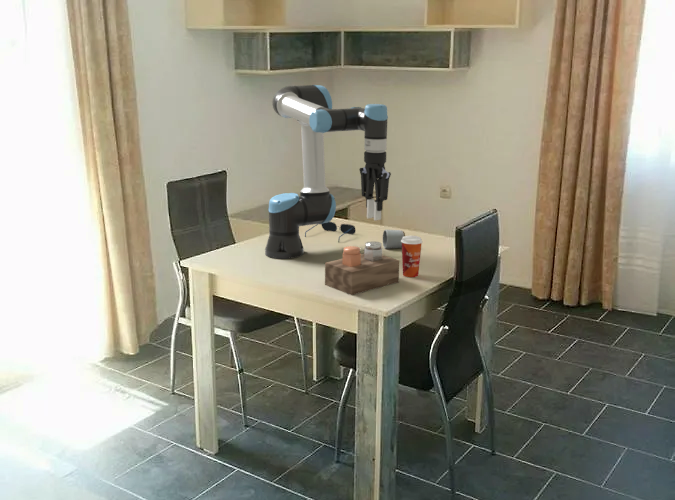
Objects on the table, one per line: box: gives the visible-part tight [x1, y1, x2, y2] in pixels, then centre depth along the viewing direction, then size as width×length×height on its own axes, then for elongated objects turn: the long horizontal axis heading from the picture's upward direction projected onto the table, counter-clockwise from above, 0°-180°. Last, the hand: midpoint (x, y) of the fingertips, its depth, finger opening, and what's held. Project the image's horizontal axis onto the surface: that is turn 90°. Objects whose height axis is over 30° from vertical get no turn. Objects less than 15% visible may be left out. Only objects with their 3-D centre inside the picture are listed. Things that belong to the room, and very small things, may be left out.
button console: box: [324, 253, 400, 296], centre depth 268 cm, size 14×22×8 cm, turn 130°
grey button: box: [363, 241, 383, 262], centre depth 270 cm, size 6×6×8 cm
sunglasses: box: [304, 221, 357, 243], centre depth 331 cm, size 17×15×5 cm
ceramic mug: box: [382, 229, 406, 249], centre depth 315 cm, size 11×8×8 cm
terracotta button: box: [342, 245, 362, 267], centre depth 264 cm, size 6×6×8 cm
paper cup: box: [401, 235, 423, 279], centre depth 277 cm, size 8×8×14 cm
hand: (373, 218), depth 266 cm, fingers open, 3 cm apart
